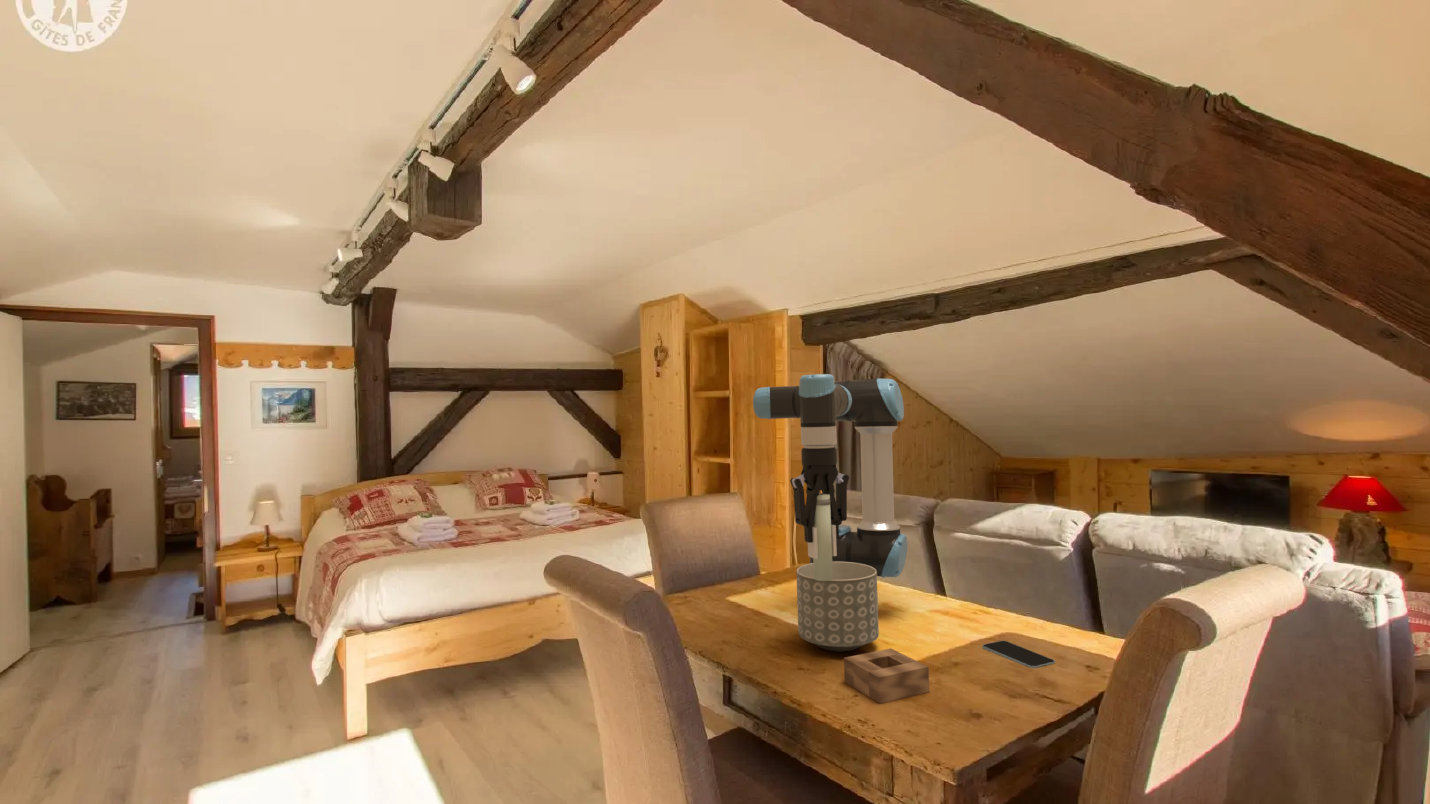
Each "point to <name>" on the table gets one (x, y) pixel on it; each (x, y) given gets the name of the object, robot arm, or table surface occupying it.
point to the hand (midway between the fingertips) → (822, 555)
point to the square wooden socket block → (886, 675)
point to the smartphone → (1018, 654)
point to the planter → (838, 606)
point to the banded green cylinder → (823, 539)
